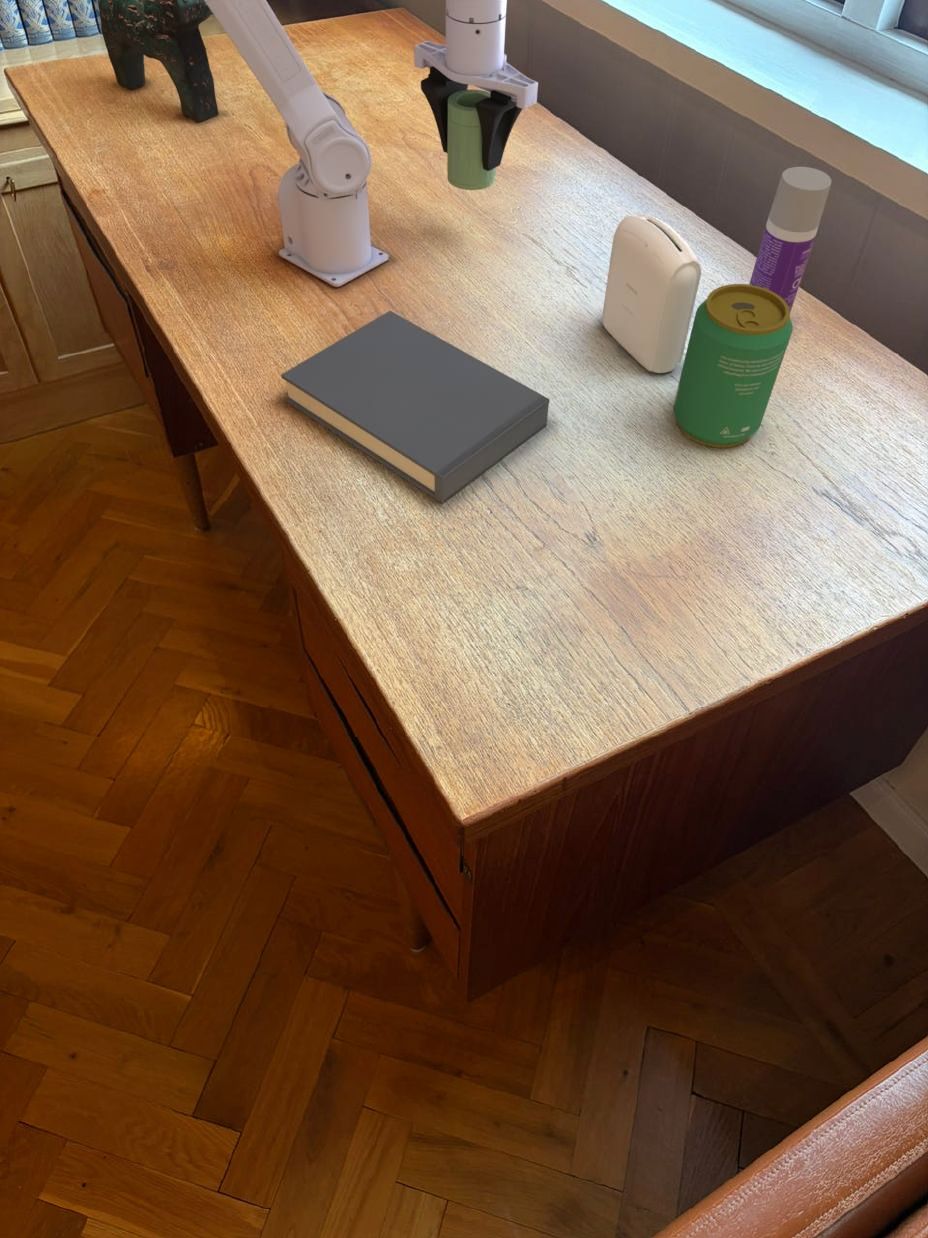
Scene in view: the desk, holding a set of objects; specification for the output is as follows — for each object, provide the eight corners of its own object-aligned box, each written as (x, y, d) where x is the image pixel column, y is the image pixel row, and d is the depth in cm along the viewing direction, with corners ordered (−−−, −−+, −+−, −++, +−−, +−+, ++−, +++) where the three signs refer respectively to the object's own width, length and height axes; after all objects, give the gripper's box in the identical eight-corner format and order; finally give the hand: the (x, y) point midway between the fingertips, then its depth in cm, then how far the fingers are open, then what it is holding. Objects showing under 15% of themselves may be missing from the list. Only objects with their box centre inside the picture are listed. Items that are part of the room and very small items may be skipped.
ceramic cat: (233, 116, 124) (204, -65, 108) (195, 132, 121) (158, -52, 105) (140, 73, 132) (100, -101, 116) (102, 87, 129) (55, -90, 113)
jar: (437, 178, 100) (437, 99, 94) (468, 162, 103) (470, 84, 97) (473, 195, 98) (475, 115, 92) (504, 178, 101) (508, 99, 95)
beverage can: (748, 394, 89) (784, 279, 79) (767, 450, 84) (808, 335, 74) (664, 394, 89) (691, 279, 79) (678, 450, 84) (708, 335, 74)
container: (785, 338, 95) (834, 193, 83) (739, 332, 95) (780, 187, 83) (785, 312, 98) (832, 168, 86) (739, 306, 98) (780, 162, 86)
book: (285, 401, 87) (280, 374, 85) (391, 336, 94) (389, 310, 91) (443, 504, 79) (442, 477, 77) (546, 425, 86) (549, 398, 83)
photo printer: (594, 323, 96) (611, 205, 86) (630, 313, 97) (650, 196, 87) (649, 379, 90) (674, 261, 80) (686, 368, 91) (715, 250, 82)
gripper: (562, 21, 87) (549, 167, 98) (447, -18, 93) (446, 124, 104) (514, 42, 84) (506, 191, 95) (398, 0, 90) (402, 145, 100)
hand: (471, 158), depth 99 cm, fingers closed on jar, 5 cm apart
